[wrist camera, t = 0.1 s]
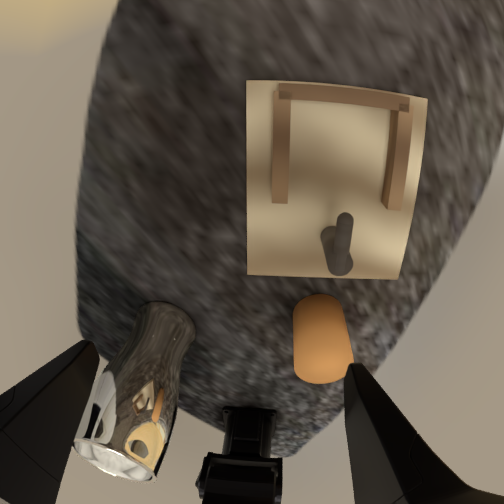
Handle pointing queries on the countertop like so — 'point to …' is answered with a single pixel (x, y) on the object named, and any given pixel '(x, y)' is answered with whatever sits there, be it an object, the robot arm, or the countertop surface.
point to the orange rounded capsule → (320, 340)
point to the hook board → (330, 178)
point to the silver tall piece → (137, 397)
